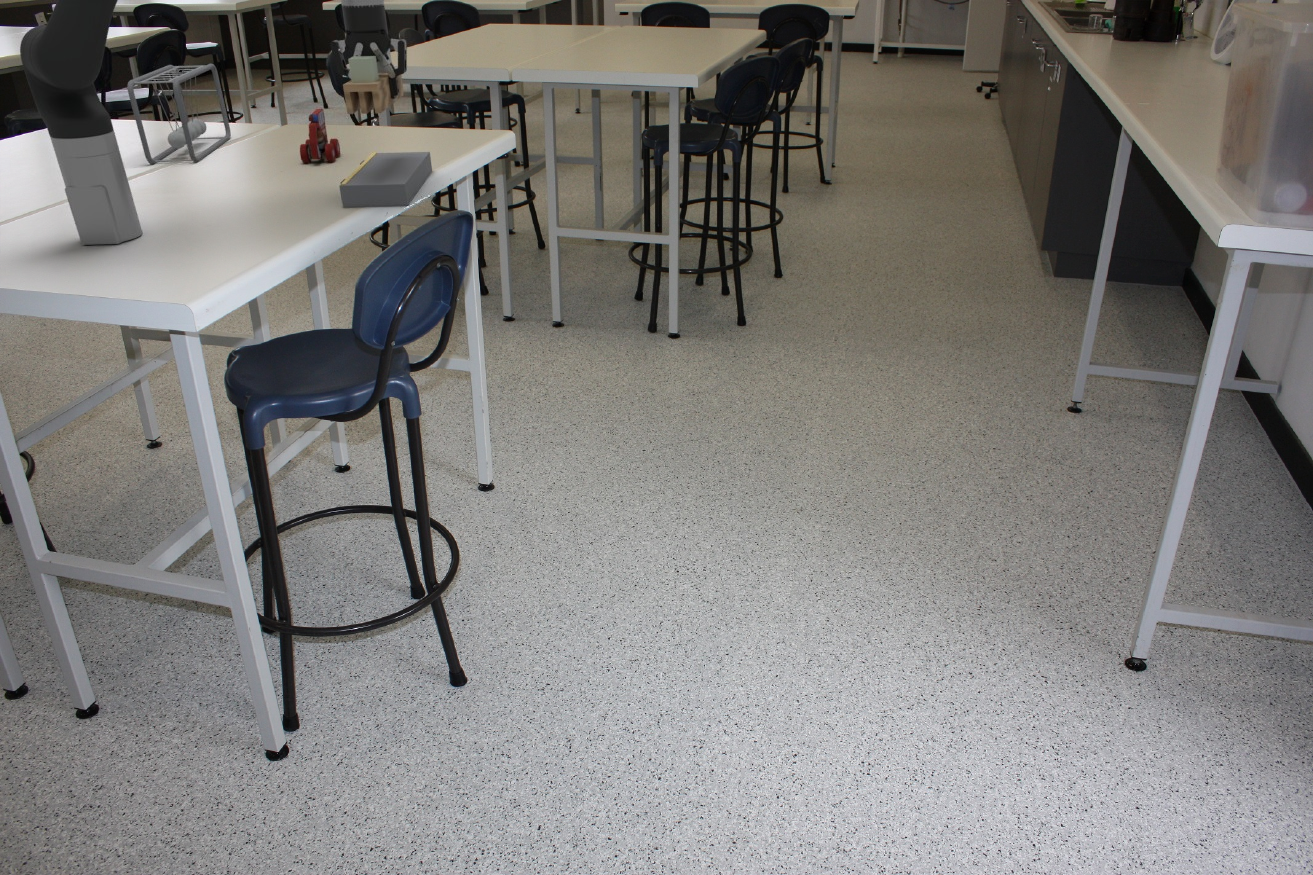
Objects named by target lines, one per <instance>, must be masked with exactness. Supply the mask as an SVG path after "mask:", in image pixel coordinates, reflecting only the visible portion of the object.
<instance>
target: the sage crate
mask: <svg viewBox="0 0 1313 875" xmlns="http://www.w3.org/2000/svg"><path fill="white" fill-rule="evenodd" d="M347 60H348V66H349V67H348V68H349V69H350V73H351V80H352V83H356V82H375V81H377V80H378V79H379V76H378V69H377V62H376V56H351V57H350V58H348V59H347Z"/></svg>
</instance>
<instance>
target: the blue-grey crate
mask: <svg viewBox="0 0 1313 875" xmlns="http://www.w3.org/2000/svg"><path fill="white" fill-rule="evenodd" d="M390 48H391V47H390ZM390 48H389V50H388V52H387V54H388V56H389V57H390V59H391V60H392V57H391V49H390ZM385 58H386V57H385ZM382 60H383V59H382ZM377 69H378V73H387V72H386V70H385V68H384V67H383V66H382V65H381V63H380V61H379V62H377Z"/></svg>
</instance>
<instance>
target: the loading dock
mask: <svg viewBox="0 0 1313 875" xmlns="http://www.w3.org/2000/svg"><path fill="white" fill-rule="evenodd" d="M432 172H433V167H432V157H431V151H412V152H410V151H409V152H406V151H404V152H372V153H371V154H369V156H368V157H367V158H366V159H363V160H362V161H361V162H360V163H359V165H358V167H357V168H356V169H355V170H354V171H352V172H351V173H350V174H349V176H347V177H346V178H344V179H343V180H341V182H340V185H339V191H340V198H341V204H342V208H364V207H366V208H367V207H369V208H371V207H402V206H403V207H407V206H409V204H410V203H411V202H412V200H413V199H414V197H415V196H416V195H417V193H418V192H419V190H420V189H421V188H422V186H423V185H424V183H425V182H426V180H427V179H428V178H429V176H430V175H431V173H432Z"/></svg>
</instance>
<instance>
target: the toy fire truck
mask: <svg viewBox="0 0 1313 875" xmlns="http://www.w3.org/2000/svg"><path fill="white" fill-rule="evenodd" d="M324 111H325V110H324V109H323V108H316V109H315V110H314V111H313V112H312V113H310V114H309V115H308V122H310V123H309V124H308V139H306V140H305V143H301V144H300V145H299V155H300V160H301V162H302V163H303V164H311V162H312V160H323V158H324V157H325V160H326V161H327V163H334V162H335V161H336V158H339V157H340V156H341V146H340V142H339V139H338V138H330V139H329V140H328V133H327V126H326V118H325V116H326V115H325V112H324Z"/></svg>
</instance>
